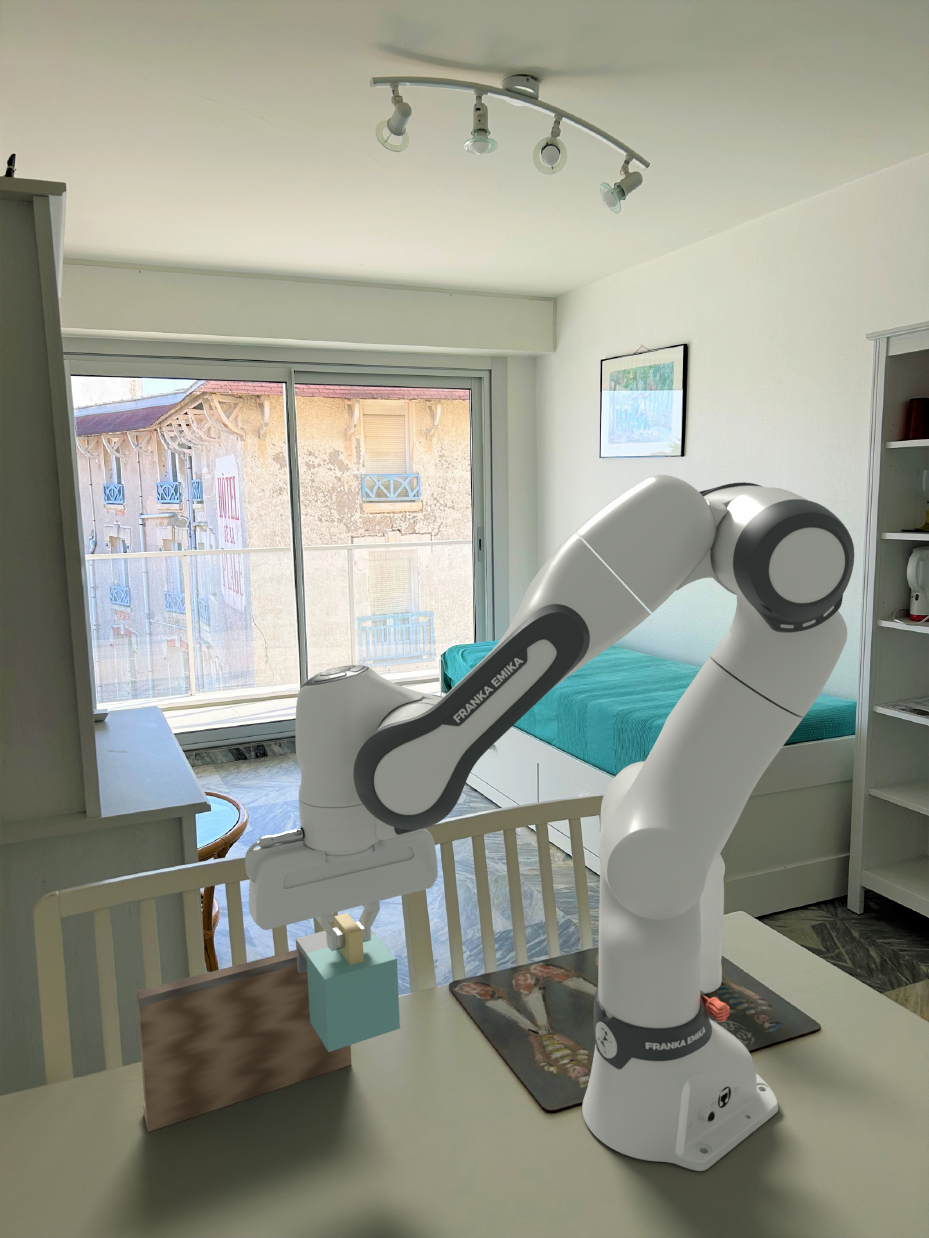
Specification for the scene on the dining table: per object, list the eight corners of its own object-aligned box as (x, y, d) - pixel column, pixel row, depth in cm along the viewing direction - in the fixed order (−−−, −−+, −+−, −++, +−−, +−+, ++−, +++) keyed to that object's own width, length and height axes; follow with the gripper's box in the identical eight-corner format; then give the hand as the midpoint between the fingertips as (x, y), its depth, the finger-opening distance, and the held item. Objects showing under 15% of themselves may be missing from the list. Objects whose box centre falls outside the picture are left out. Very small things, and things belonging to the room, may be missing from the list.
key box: (366, 985, 103) (361, 891, 101) (399, 1028, 94) (395, 927, 93) (299, 1005, 99) (293, 908, 97) (328, 1052, 90) (322, 947, 89)
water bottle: (723, 998, 122) (729, 826, 119) (671, 993, 124) (675, 823, 120) (719, 971, 129) (724, 808, 125) (670, 966, 130) (673, 805, 127)
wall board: (342, 1049, 112) (338, 931, 110) (351, 1064, 109) (347, 943, 107) (143, 1113, 101) (134, 983, 98) (148, 1131, 98) (138, 998, 95)
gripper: (252, 851, 85) (260, 985, 87) (442, 810, 94) (446, 932, 96) (236, 830, 90) (244, 956, 92) (417, 793, 100) (421, 909, 101)
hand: (349, 943), depth 94 cm, fingers closed on key box
